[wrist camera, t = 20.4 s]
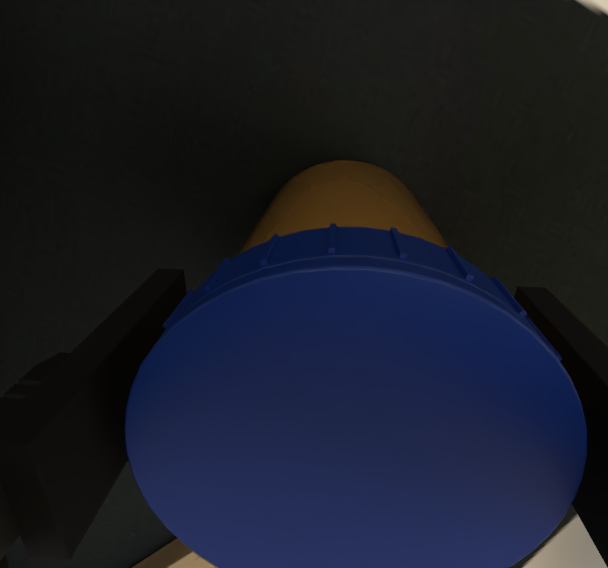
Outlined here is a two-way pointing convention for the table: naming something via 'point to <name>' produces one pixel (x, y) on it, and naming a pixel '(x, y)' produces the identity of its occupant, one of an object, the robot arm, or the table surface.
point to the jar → (344, 204)
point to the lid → (355, 411)
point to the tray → (174, 558)
